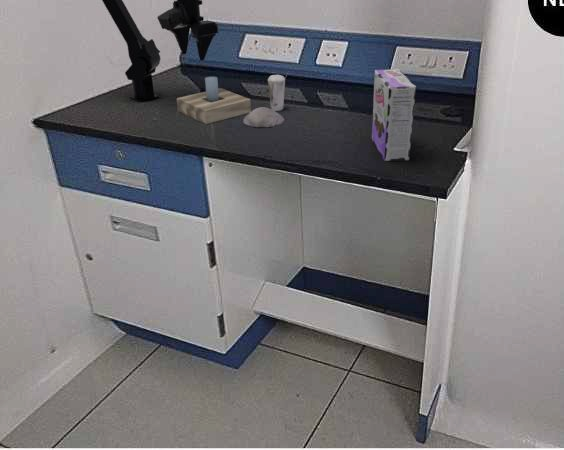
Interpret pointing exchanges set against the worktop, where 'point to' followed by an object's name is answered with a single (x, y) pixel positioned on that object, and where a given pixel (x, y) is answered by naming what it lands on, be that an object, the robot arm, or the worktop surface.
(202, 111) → the socket block
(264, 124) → the seashell
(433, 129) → the worktop surface
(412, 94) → the candy box
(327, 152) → the worktop surface
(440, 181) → the worktop surface
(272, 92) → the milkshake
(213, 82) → the dowel
